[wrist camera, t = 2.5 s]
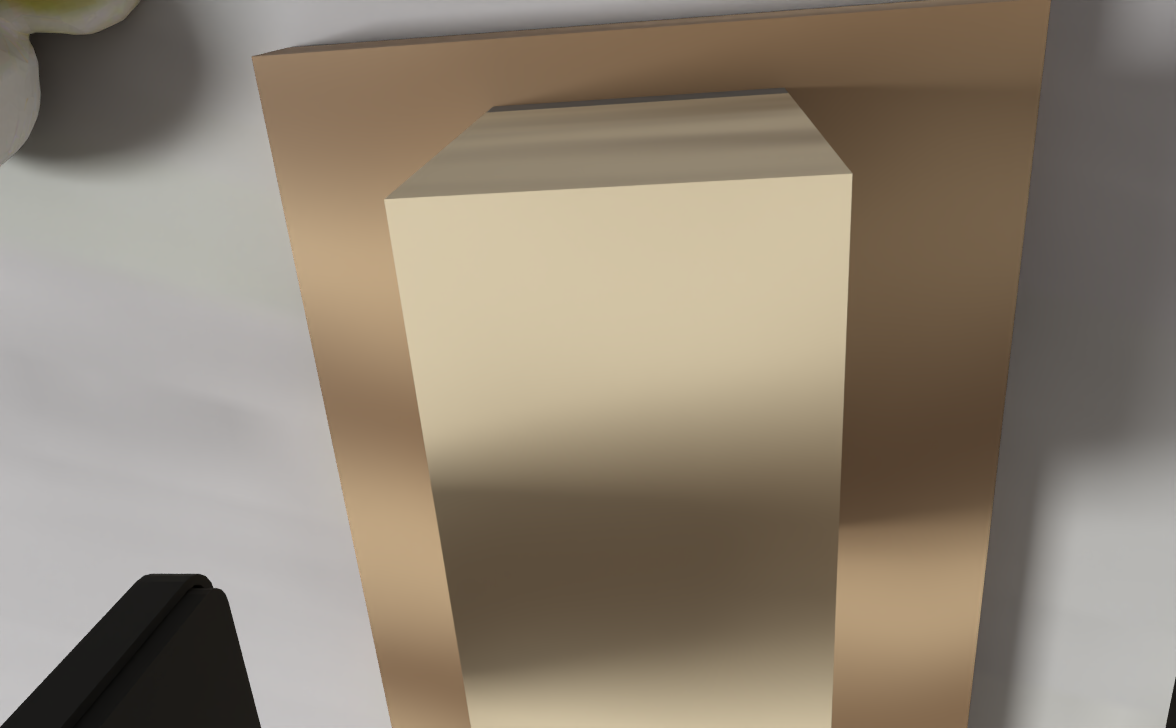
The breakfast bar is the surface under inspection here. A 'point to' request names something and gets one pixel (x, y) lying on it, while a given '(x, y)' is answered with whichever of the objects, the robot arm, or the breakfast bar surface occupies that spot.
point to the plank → (874, 310)
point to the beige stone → (10, 67)
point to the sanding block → (634, 406)
